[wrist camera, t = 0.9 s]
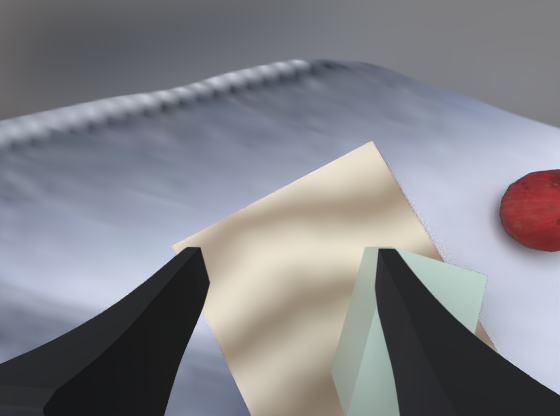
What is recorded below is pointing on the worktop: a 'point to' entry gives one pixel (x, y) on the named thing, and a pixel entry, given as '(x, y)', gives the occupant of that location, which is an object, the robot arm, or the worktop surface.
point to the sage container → (369, 336)
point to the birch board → (301, 278)
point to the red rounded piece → (534, 210)
